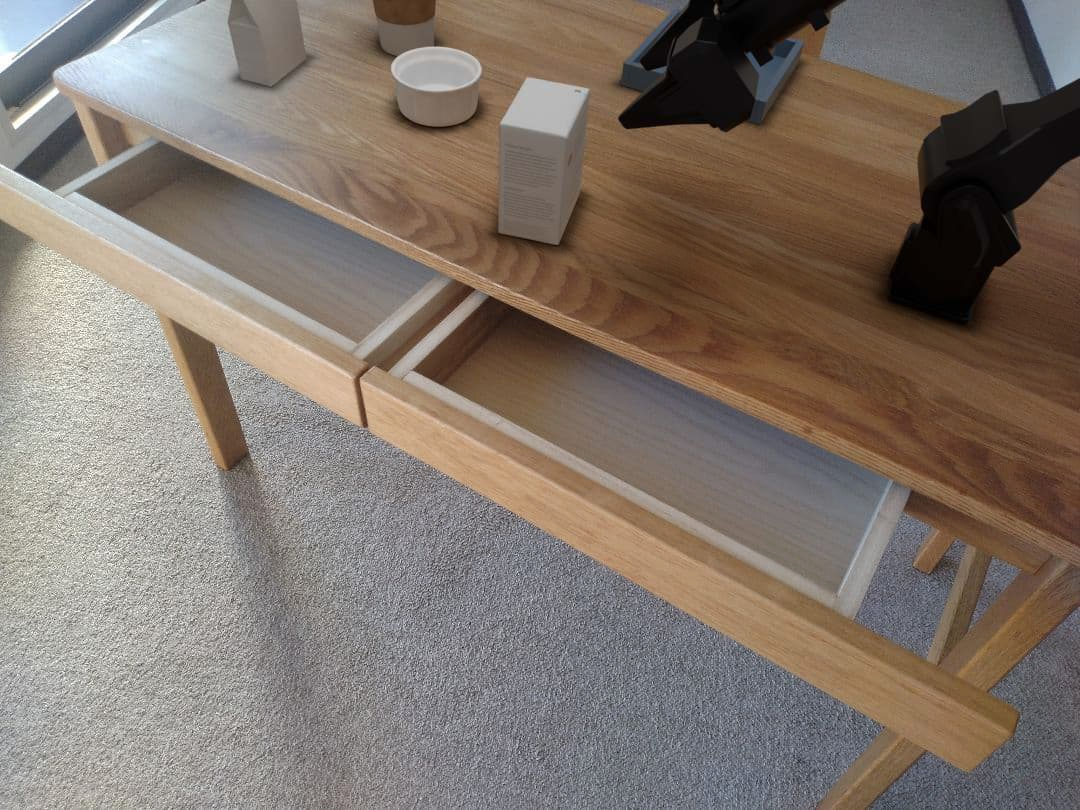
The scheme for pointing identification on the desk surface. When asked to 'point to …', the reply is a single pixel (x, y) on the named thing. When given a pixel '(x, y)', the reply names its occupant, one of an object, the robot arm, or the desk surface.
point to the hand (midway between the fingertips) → (632, 92)
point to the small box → (541, 159)
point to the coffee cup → (405, 24)
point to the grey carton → (266, 39)
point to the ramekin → (436, 85)
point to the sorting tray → (769, 74)
